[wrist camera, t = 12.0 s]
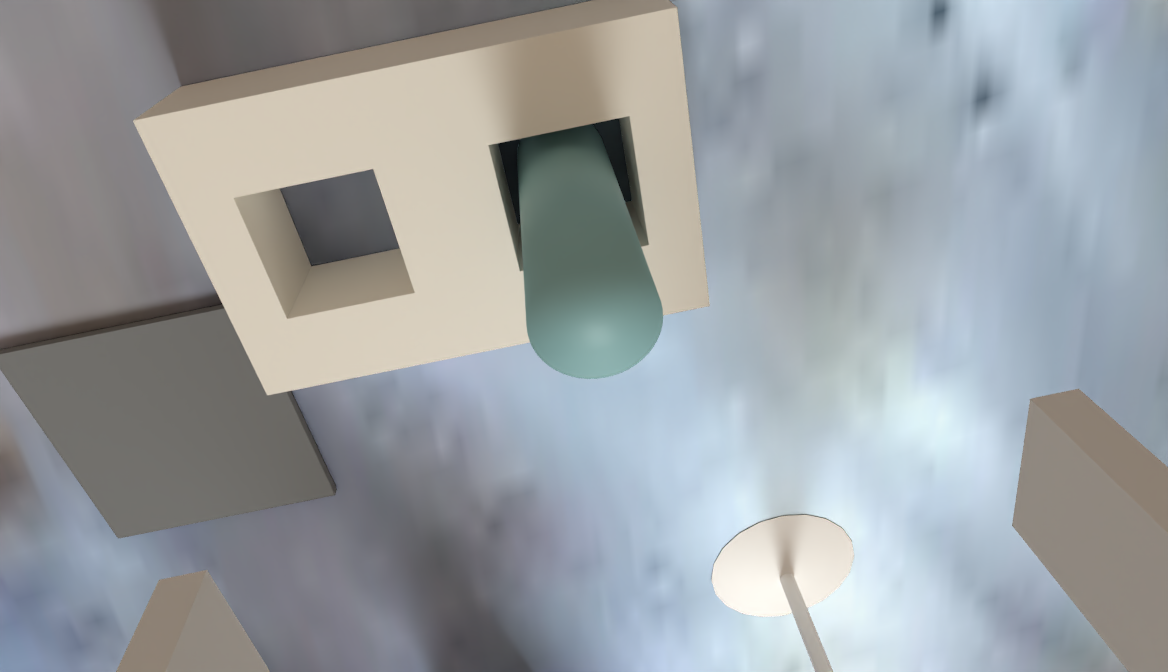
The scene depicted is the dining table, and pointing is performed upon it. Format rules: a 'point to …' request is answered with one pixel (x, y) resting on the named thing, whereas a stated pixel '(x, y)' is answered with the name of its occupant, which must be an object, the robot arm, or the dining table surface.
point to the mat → (168, 422)
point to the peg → (582, 259)
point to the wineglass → (785, 572)
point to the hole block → (422, 182)
